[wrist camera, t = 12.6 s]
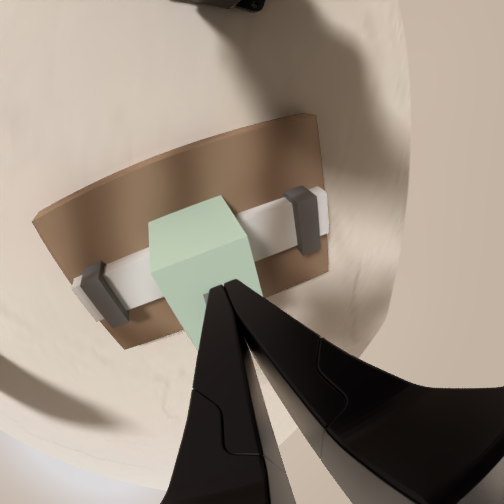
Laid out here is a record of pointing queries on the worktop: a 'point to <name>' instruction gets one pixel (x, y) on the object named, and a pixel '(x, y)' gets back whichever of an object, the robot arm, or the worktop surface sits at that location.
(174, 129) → the worktop surface
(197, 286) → the block
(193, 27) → the worktop surface
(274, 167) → the rail board
